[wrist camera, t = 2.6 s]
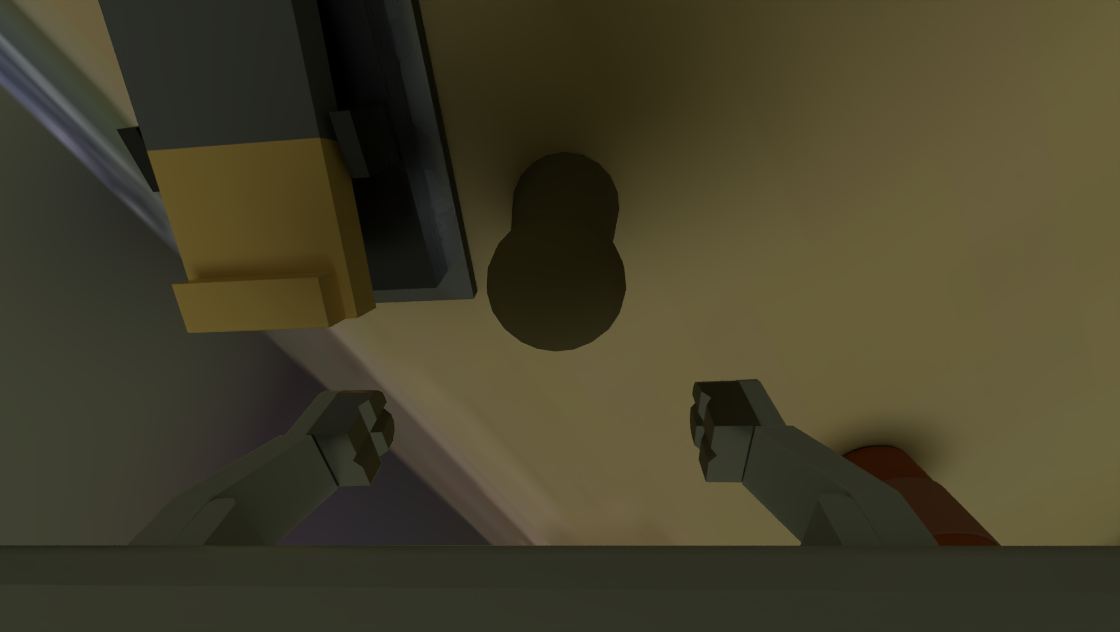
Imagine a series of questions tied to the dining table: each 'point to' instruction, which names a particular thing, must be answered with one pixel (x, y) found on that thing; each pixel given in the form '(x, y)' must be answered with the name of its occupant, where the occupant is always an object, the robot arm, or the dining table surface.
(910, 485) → the cup with straw
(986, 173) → the dining table surface
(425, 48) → the grey box with tabs
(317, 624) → the robot arm
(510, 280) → the dark tall tapered piece
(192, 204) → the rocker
